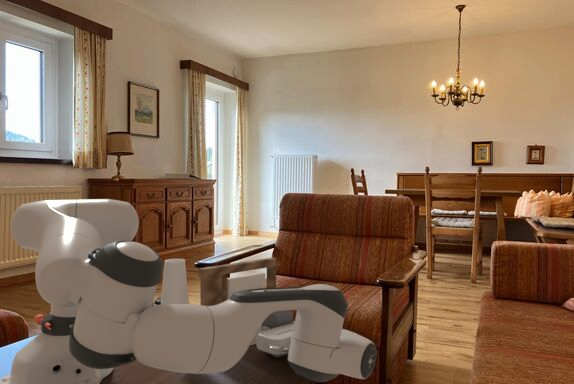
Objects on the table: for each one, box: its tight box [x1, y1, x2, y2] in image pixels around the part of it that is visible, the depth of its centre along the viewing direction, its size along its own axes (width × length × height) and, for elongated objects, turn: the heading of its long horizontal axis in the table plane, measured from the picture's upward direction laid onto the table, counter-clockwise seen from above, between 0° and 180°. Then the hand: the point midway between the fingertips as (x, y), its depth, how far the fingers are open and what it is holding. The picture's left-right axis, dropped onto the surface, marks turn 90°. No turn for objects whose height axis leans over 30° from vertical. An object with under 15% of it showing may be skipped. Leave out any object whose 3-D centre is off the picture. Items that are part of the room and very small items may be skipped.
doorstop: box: [262, 310, 294, 359], centre depth 115 cm, size 5×6×10 cm
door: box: [227, 272, 266, 345], centre depth 120 cm, size 12×3×18 cm, turn 132°
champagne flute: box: [161, 258, 190, 305], centre depth 112 cm, size 7×7×24 cm
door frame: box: [197, 257, 277, 306], centre depth 119 cm, size 23×2×22 cm, turn 132°
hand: (274, 326), depth 115 cm, fingers closed on doorstop, 5 cm apart
